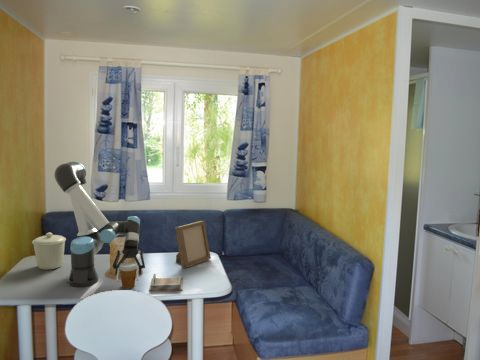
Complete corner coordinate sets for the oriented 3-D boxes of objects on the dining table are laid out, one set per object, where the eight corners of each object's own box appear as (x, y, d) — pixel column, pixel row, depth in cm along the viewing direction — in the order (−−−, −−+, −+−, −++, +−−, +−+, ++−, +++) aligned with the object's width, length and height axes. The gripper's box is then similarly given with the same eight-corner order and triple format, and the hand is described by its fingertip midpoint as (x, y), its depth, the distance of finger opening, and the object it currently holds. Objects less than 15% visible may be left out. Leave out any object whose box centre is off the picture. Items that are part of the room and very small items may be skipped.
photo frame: (210, 260, 254) (210, 222, 250) (186, 269, 236) (186, 228, 233) (194, 255, 262) (194, 218, 259) (169, 263, 245) (169, 224, 242)
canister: (54, 273, 224) (52, 237, 222) (26, 270, 228) (24, 235, 225) (73, 263, 242) (72, 229, 239) (46, 260, 245) (45, 227, 242)
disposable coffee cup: (130, 281, 216) (130, 260, 215) (141, 285, 210) (141, 264, 209) (115, 286, 209) (115, 264, 208) (126, 291, 203) (125, 268, 202)
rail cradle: (148, 291, 203) (148, 285, 203) (151, 279, 219) (151, 274, 219) (182, 290, 206) (182, 284, 205) (182, 278, 221) (182, 273, 221)
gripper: (152, 245, 224) (149, 282, 210) (111, 245, 221) (106, 283, 208) (151, 238, 218) (148, 276, 205) (109, 239, 215) (104, 278, 202)
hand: (127, 280), depth 206 cm, fingers closed on disposable coffee cup, 9 cm apart
